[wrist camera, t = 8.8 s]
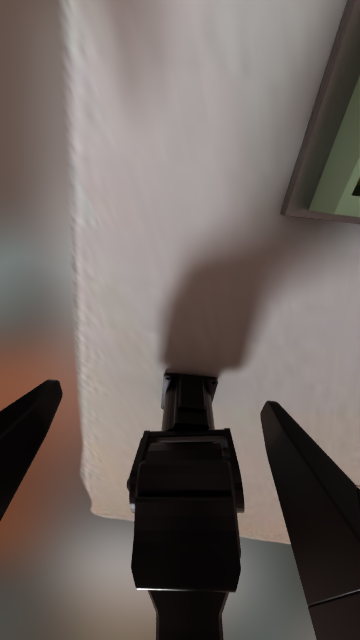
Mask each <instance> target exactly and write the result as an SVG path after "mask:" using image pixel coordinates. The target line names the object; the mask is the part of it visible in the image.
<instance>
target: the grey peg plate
mask: <svg viewBox="0 0 360 640" xmlns="http://www.w3.org/2000/svg"><path fill="white" fill-rule="evenodd" d="M359 76H360V0H348V1H347V4H346V7H345V10H344V13H343V16H342V19H341V23H340V26H339V29H338V32H337V35H336V38H335V42H334V45H333V48H332V51H331V54H330V57H329V60H328V64H327V67H326V70H325V73H324V76H323V79H322V83H321V86H320V89H319V92H318V95H317V98H316V101H315V105H314V108H313V111H312V114H311V117H310V120H309V124H308V127H307V130H306V133H305V136H304V139H303V143H302V146H301V149H300V152H299V155H298V158H297V161H296V165H295V168H294V171H293V174H292V177H291V180H290V184H289V187H288V190H287V193H286V196H285V199H284V202H283V206H282V209H281V212H280V214H282V215H287V216H296V217H304V218H313V219H322V220H330V221H339V222H347V223H356V224H360V217H354V216H345V215H337V214H330V213H323V212H317V211H310V210H309V207H310V205H311V202H312V200H313V197H314V194H315V192H316V189H317V186H318V184H319V181H320V178H321V176H322V173H323V171H324V168H325V165H326V163H327V160H328V157H329V155H330V152H331V149H332V147H333V144H334V142H335V139H336V136H337V134H338V131H339V128H340V126H341V123H342V121H343V118H344V115H345V113H346V110H347V107H348V105H349V102H350V99H351V97H352V94H353V92H354V89H355V86H356V84H357V81H358V78H359ZM356 186H360V178H359V180H358V182H357V184H356ZM356 186H355V187H356Z"/></svg>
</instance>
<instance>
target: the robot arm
mask: <svg viewBox="0 0 360 640" xmlns="http://www.w3.org/2000/svg"><path fill="white" fill-rule="evenodd" d="M168 377H169V378H168ZM213 381H214V382H213ZM217 384H218V381H217V378H215V377H205V376H194V375H183V374H172V373H166V374H164V378H163V390H162V402H161V408H162V409H163V410H164V412H163V421H162V431H151V432H150V431H144V434H143V437H142V438H141V441H140V444H139V447H138V450H137V454H136V457H135V460H134V463H133V466H132V470H131V473H130V476H129V478H128V481H127V489H128V490H129V492H130V493H129V500H130V509H131V512H133V513H135V521H134V541H133V552H132V563H131V569H132V573H133V578H134V582H135V586H136V588H137V589H138V590H148V592H149V595H150V598H151V600H152V603H153V605H154V608H155V610H156V640H223V630H222V612H223V609H224V606H225V603H226V600H227V597H228V594H229V592H235V591H236V589H237V584H238V580H239V576H240V571H241V566H240V557H241V548H240V539H239V529H238V520H237V513H244V495H243V487H242V480H241V474H240V469H239V464H238V460H237V456H236V452H235V448H234V444H233V440H232V436H231V432H230V428H224V429H221V430H215V428H214V419H213V411H212V401H213V398H214V394H215V391H216V387H217ZM61 398H62V389H61V386H60V382H59V381H58V380H51V379H49V380H46V381H45V382H43V383H42V384H40V385H39V386H37V387H36V388H34V389H33V390H31V391H30V392H28V393H27V394H25V395H24V396H22V397H21V398H19V399H18V400H16V401H15V402H13V403H12V404H10V405H9V406H7V407H6V408H4V409H3V410H1V411H0V521H1V519H2V517H3V515H4V513H5V512H6V509H7V508H8V506H9V504H10V502H11V500H12V498H13V497H14V494H15V493H16V491H17V489H18V487H19V485H20V483H21V482H22V480H23V478H24V476H25V474H26V472H27V470H28V469H29V467H30V465H31V463H32V461H33V459H34V457H35V455H36V454H37V452H38V450H39V448H40V446H41V444H42V442H43V440H44V438H45V437H46V434H47V432H48V430H49V428H50V425H51V423H52V421H53V418H54V416H55V413H56V411H57V408H58V406H59V404H60V401H61ZM261 423H262V429H263V435H264V441H265V447H266V452H267V457H268V461H269V464H270V468H271V472H272V475H273V479H274V483H275V486H276V490H277V494H278V498H279V501H280V505H281V509H282V512H283V516H284V520H285V523H286V527H287V531H288V535H289V538H290V542H291V545H292V549H293V553H294V556H295V560H296V564H297V568H298V571H299V575H300V579H301V583H302V586H303V590H304V594H305V597H306V601H307V604H308V609H309V612H310V616H311V620H312V624H313V628H314V631H315V635H316V639H317V640H360V489H359V488H357V487H356V485H355V484H354V483H353V482H352V481H351V479H350V478H349V477H348V476H347V475H346V474H345V473H344V472H343V471H342V470H341V469H340V468H339V467H338V466H337V465H336V464H335V463H334V461H333V460H332V459H331V458H330V457H329V456H328V455H327V454H326V453H325V452H324V451H323V450H322V449H321V448H320V447H319V446H318V445H317V444H316V442H315V441H314V440H313V439H312V438H311V437H310V436H309V435H308V434H307V433H306V432H305V431H304V430H303V429H302V428H301V427H300V426H299V424H298V423H297V422H296V421H295V420H294V419H293V418H292V417H291V416H290V415H289V414H288V413H287V412H286V411H285V410H284V409H283V408H282V407H281V405H280V404H279V403H277V402H275V401H267V402H266V403H265V405H264V407H263V409H262V411H261Z"/></svg>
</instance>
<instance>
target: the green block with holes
mask: <svg viewBox="0 0 360 640" xmlns="http://www.w3.org/2000/svg"><path fill="white" fill-rule="evenodd" d="M359 178H360V76H359V78H358V81H357V84H356V86H355V89H354V92H353V94H352V97H351V99H350V102H349V105H348V107H347V110H346V113H345V115H344V118H343V121H342V123H341V126H340V128H339V131H338V134H337V136H336V139H335V142H334V144H333V147H332V149H331V152H330V155H329V157H328V160H327V163H326V165H325V168H324V171H323V173H322V176H321V178H320V181H319V184H318V186H317V189H316V192H315V194H314V197H313V200H312V202H311V205H310V207H309V210H310V211H317V212H323V213H330V214H337V215H345V216H354V217H360V186H356V184H357V182H358V180H359ZM355 186H356V187H355Z"/></svg>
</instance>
